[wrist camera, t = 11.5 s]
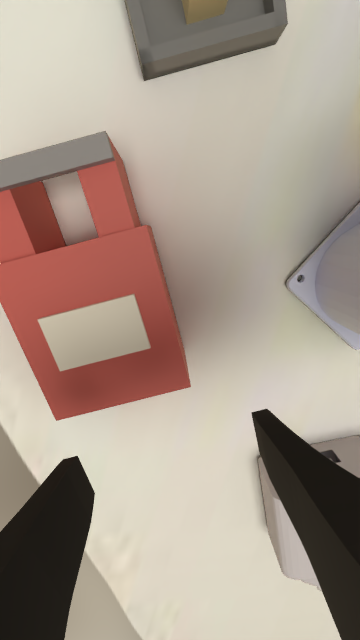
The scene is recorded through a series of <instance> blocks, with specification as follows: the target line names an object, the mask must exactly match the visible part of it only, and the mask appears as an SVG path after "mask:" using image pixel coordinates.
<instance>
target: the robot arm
mask: <svg viewBox="0 0 360 640" xmlns="http://www.w3.org/2000/svg"><path fill="white" fill-rule="evenodd" d="M299 275H302V279H301V280H300V281H297V278H298V276H299ZM286 286H287V288H288V289H289V290H290V291H291V292H292V293H293V294H294V295H295V296H296V297H297V298H298V299H300V300H301V301H302V302H303V303H304V304H305V305H306V306H307V307H308V308H309V309H310V310H311V311H313V312H314V313H315V314H316V315H317V316H318V317H319V318H320V319H321V320H322V321H323V322H324V323H326V324H327V325H328V326H329V327H330V328H331V329H332V330H333V331H334V332H335V333H336V334H337V335H339V336H340V337H341V338H342V339H343V340H344V341H345V342H346V343H347V344H348V345H349V346H351V347H352V348H354V349H355V350H359V349H360V202H359V203H358V205H357V206H356V207H355V208H354V209H353V210H352V211H351V212H350V213H349V214H348V215H347V216H346V217H345V219H344V220H343V221H342V222H341V223H340V224H339V225H338V226H337V227H336V228H335V229H334V230H333V231H332V233H331V234H330V235H329V236H328V237H327V238H326V239H325V240H324V241H323V242H322V243H321V244H320V245H319V247H318V248H317V249H316V250H315V251H314V252H313V253H312V254H311V255H310V256H309V257H308V258H307V259H306V261H305V262H304V263H303V264H302V265H301V266H300V267H299V268H298V269H297V270H296V271H295V272H294V274H293V275H292V276H291V277H290V278H289V279H288V280H287V283H286ZM252 418H253V423H254V427H255V432H256V437H257V442H258V447H259V452H260V455H261V458H262V460H263V463H264V466H265V468H266V471H267V473H268V476H269V478H270V480H271V483H272V485H273V487H274V489H275V491H276V493H277V495H278V497H279V499H280V501H281V503H282V505H283V506H284V508H285V510H286V512H287V514H288V516H289V518H290V520H291V522H292V524H293V526H294V528H295V530H296V532H297V534H298V536H299V538H300V540H301V542H302V545H303V547H304V549H305V551H306V553H307V556H308V558H309V560H310V563H311V565H312V568H313V570H314V573H315V575H316V577H317V580H318V582H319V585H320V587H321V590H322V592H323V595H324V597H325V599H326V602H327V604H328V607H329V609H330V612H331V614H332V617H333V619H334V622H335V624H336V627H337V629H338V632H339V634H340V637H341V639H342V640H360V478H358V477H357V476H355V475H354V474H352V473H350V472H349V471H347V470H345V469H344V468H342V467H341V466H339V465H338V464H336V463H335V462H333V461H332V460H330V459H329V458H327V457H326V456H324V455H323V454H322V453H320V452H319V451H317V450H316V449H315V448H313V447H312V446H311V445H309V444H308V443H307V442H305V441H304V440H303V439H302V438H300V437H299V436H298V435H296V434H295V433H294V432H293V431H292V430H290V429H289V428H288V427H287V426H286V425H285V424H283V423H282V422H281V421H280V420H279V419H278V418H277V417H276V416H275V415H274V414H272V413H271V412H270V411H269V410H268V409H264V410H260V411H256V412H252ZM94 495H95V493H94V490H93V488H92V486H91V484H90V482H89V480H88V477H87V475H86V473H85V471H84V469H83V467H82V465H81V462H80V460H79V458H78V456H75V457H71V458H67V459H63V460H62V461H61V462H60V463H59V464H58V466H57V467H56V468H55V469H54V470H53V471H52V473H51V474H50V475H49V476H48V477H47V479H46V480H45V481H44V482H43V483H42V485H41V486H40V487H39V488H38V489H37V491H36V492H35V493H34V494H33V495H32V496H31V498H30V499H29V500H28V501H27V502H26V504H25V505H24V506H23V507H22V508H21V509H20V511H19V512H18V513H17V514H16V515H15V516H14V517H13V518H12V520H11V521H10V522H9V523H8V524H7V525H6V526H5V527H4V528H3V530H2V531H1V532H0V640H64V638H65V632H66V626H67V620H68V615H69V609H70V605H71V600H72V596H73V591H74V587H75V584H76V580H77V576H78V572H79V568H80V564H81V560H82V556H83V552H84V548H85V544H86V540H87V536H88V532H89V528H90V524H91V518H92V512H93V504H94Z"/></svg>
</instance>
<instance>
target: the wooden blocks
mask: <svg viewBox="0 0 360 640" xmlns="http://www.w3.org/2000/svg"><path fill="white" fill-rule="evenodd" d="M227 1H228V0H182V4H183V9H184V14H185V19H186V24H187V25H188V24H191V23H195V22H198V21H201V20H205V19H208V18H211V17H215V16H218V15H221V14H224V12H225V8H226V5H227Z"/></svg>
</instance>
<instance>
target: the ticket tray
mask: <svg viewBox="0 0 360 640" xmlns="http://www.w3.org/2000/svg"><path fill="white" fill-rule="evenodd" d="M125 4H126V8H127V12H128V16H129V20H130V25H131V29H132V33H133V37H134V41H135V45H136V49H137V54H138V58H139V62H140V66H141V70H142V74H143V79H144V81H145V80H149V79H152V78H156V77H160V76H163V75H167V74H170V73H174V72H177V71H181V70H185V69H188V68H192V67H195V66H199V65H202V64H206V63H210V62H213V61H217V60H220V59H224V58H228V57H231V56H235V55H238V54H242V53H245V52H249V51H253V50H256V49H260V48H263V47H267V46H270V45H274V44H276V42H277V41H278V39H279V37H280V36H281V34H282V32H283V31H284V29H285V27H286V26H287V24H288V21H287V12H286V2H285V0H228V1H227V5H226V8H225V12H224V14H221V15H218V16H215V17H211V18H208V19H205V20H201V21H198V22H195V23H191V24H188V25H187V24H186V19H185V14H184V9H183V4H182V0H125Z"/></svg>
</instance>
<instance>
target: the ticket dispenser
mask: <svg viewBox="0 0 360 640" xmlns="http://www.w3.org/2000/svg"><path fill="white" fill-rule="evenodd" d="M75 171H77V173H78V176H79V179H80V182H81V185H82V188H83V191H84V194H85V197H86V200H87V203H88V206H89V209H90V212H91V215H92V218H93V221H94V224H95V227H96V230H97V233H98V236H99V238H95V239H92V240H88V241H84V242H80V243H77V244H73V245H69V246H66V245H65V242H64V239H63V236H62V234H61V231H60V228H59V226H58V223H57V220H56V218H55V215H54V212H53V209H52V207H51V204H50V201H49V199H48V196H47V193H46V190H45V188H44V185H43V183H42V182H40V181H42V180H46V179H49V178H53V177H57V176H60V175H64V174H68V173H71V172H75ZM0 263H1V264H0V302H1V305H2V307H3V309H4V311H5V313H6V315H7V317H8V319H9V322H10V324H11V326H12V328H13V330H14V332H15V334H16V336H17V339H18V341H19V343H20V345H21V347H22V349H23V351H24V353H25V355H26V358H27V360H28V362H29V364H30V366H31V368H32V370H33V372H34V375H35V377H36V379H37V381H38V383H39V385H40V387H41V389H42V392H43V394H44V396H45V398H46V400H47V402H48V404H49V406H50V409H51V411H52V413H53V415H54V417H55V419H56V421H57V420H61V419H65V418H69V417H73V416H77V415H81V414H85V413H89V412H93V411H97V410H101V409H105V408H109V407H113V406H117V405H121V404H125V403H129V402H133V401H137V400H140V399H144V398H148V397H152V396H156V395H160V394H164V393H168V392H172V391H176V390H180V389H184V388H188V387H191V385H190V379H189V374H188V368H187V362H186V356H185V351H184V347H183V343H182V340H181V336H180V332H179V329H178V325H177V321H176V318H175V314H174V310H173V306H172V303H171V299H170V295H169V292H168V288H167V284H166V281H165V277H164V273H163V270H162V266H161V262H160V258H159V255H158V251H157V247H156V244H155V240H154V236H153V233H152V229H151V226H148V225H144V226H141V224H140V221H139V217H138V214H137V210H136V206H135V203H134V199H133V196H132V192H131V189H130V185H129V182H128V178H127V174H126V171H125V167H124V164H123V160H122V159H121V157H120V155H119V154H118V152H117V150H116V148H115V147H114V145H113V143H112V142H111V140H110V138H109V136H108V135H107V133H106V131H103V132H100V133H96V134H93V135H89V136H85V137H82V138H78V139H74V140H71V141H67V142H64V143H60V144H56V145H53V146H49V147H45V148H42V149H38V150H35V151H31V152H27V153H24V154H20V155H16V156H13V157H9V158H6V159H2V160H0Z"/></svg>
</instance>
